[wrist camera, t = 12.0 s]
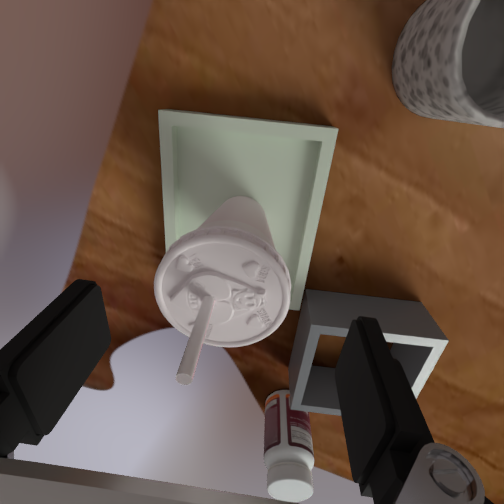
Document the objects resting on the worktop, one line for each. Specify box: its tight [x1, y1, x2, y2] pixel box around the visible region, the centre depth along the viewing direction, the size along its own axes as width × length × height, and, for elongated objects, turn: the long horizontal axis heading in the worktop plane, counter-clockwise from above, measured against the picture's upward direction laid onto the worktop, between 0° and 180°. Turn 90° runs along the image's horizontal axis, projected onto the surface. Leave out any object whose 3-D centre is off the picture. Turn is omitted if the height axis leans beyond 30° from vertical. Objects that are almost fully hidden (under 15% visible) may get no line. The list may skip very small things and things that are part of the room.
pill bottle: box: [264, 390, 314, 502], centre depth 29 cm, size 5×5×8 cm
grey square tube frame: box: [288, 289, 449, 416], centre depth 26 cm, size 10×10×4 cm
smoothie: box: [154, 196, 291, 385], centre depth 16 cm, size 6×6×14 cm
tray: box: [158, 109, 338, 310], centre depth 22 cm, size 14×11×2 cm
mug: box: [392, 0, 504, 128], centre depth 13 cm, size 10×7×7 cm
